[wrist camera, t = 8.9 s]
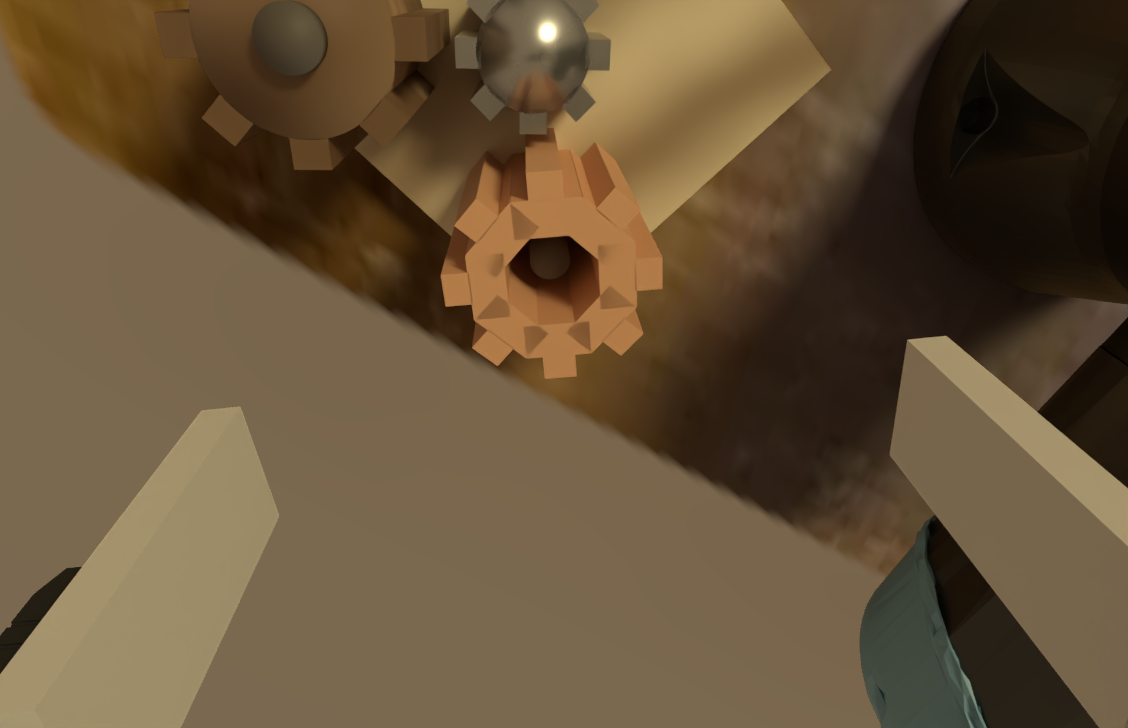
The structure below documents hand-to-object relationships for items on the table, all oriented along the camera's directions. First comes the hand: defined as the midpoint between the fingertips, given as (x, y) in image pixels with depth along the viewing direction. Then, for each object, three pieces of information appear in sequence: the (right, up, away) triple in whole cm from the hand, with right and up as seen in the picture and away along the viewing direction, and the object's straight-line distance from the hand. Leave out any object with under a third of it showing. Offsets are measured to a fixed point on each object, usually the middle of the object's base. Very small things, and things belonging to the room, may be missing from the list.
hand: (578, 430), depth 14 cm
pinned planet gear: (-8, +13, +11) cm, 19 cm away
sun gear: (-1, +13, +12) cm, 18 cm away
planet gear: (-1, +7, +15) cm, 17 cm away
